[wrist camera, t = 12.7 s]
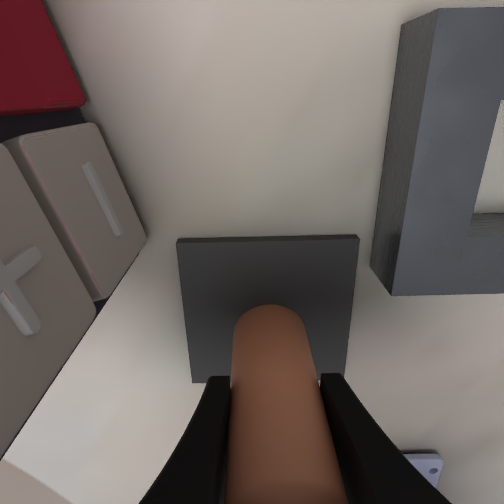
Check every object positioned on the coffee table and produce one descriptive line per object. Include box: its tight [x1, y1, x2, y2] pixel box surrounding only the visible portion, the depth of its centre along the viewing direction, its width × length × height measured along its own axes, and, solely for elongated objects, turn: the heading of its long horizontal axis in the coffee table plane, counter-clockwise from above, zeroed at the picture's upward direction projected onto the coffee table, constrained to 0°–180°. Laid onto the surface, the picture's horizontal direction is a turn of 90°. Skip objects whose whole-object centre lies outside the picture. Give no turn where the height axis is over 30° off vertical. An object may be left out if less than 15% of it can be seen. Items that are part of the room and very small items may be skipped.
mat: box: [176, 235, 360, 383], centre depth 16 cm, size 8×8×1 cm
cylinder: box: [224, 305, 348, 504], centre depth 11 cm, size 3×3×7 cm
